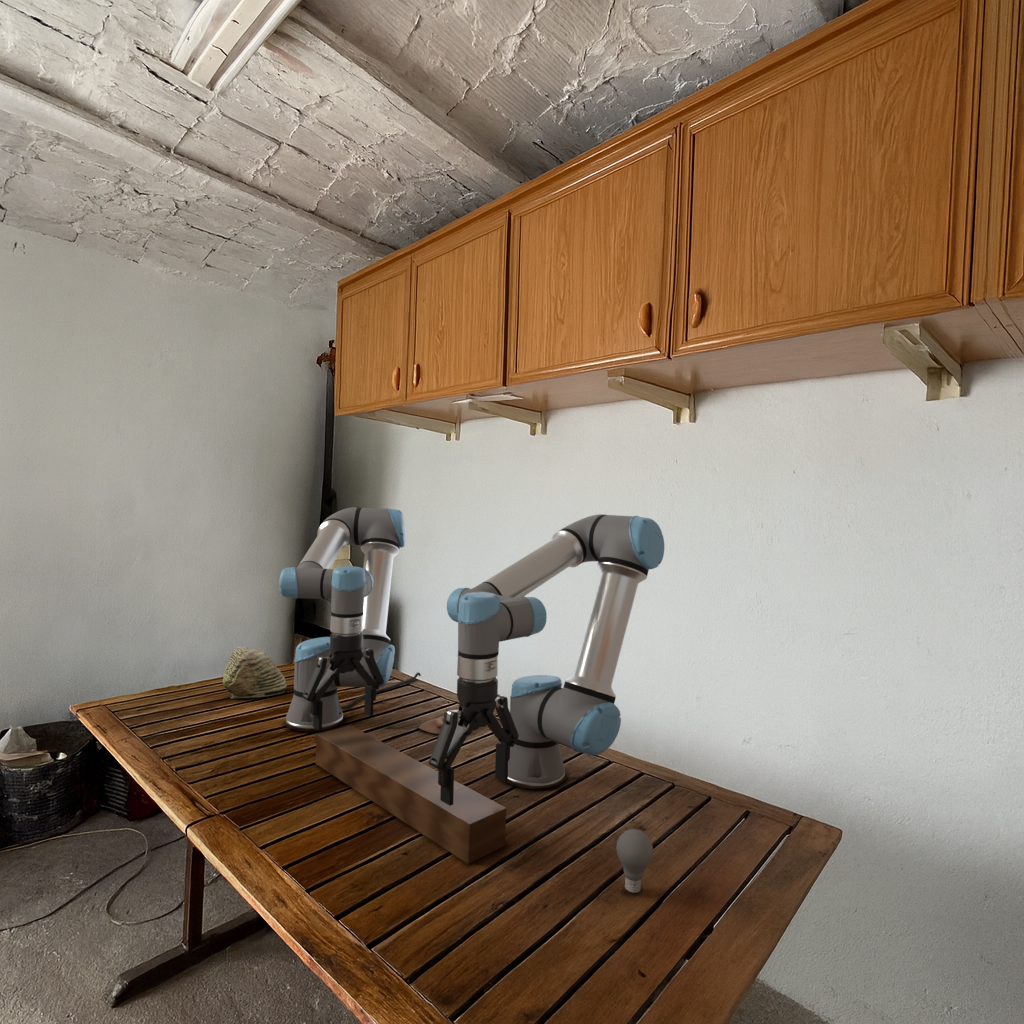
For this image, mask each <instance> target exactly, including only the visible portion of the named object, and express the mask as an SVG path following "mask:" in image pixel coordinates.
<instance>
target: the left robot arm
mask: <svg viewBox="0 0 1024 1024" xmlns="http://www.w3.org/2000/svg"><path fill="white" fill-rule="evenodd" d="M316 535H317V536H316V537H315V539H314V541H313V543H311V545H310V547H309V548H308V550H307V552H306V553H305V555H304V556H303V558H302V559H301V561H300V562H299V563H298V565H297V567H295V566H292V567H291V566H290V567H284V568H283V569H282V570H281V572H280V575H279V579H278V586H279V587H278V589H279V592H280V595H281V596H282V597H284V598H291V599H296V600H298V599H312V600H313V599H314V600H315V599H318V600H319V599H320V600H331V601H330V605H331V606H330V609H331V610H330V624H329V625H330V626H329V627H330V628H329V629H330V630H329V631H330V633H331V634H330V635H329V636H321V637H315V638H311V639H307V640H304V641H302V642H300V643H298V644H297V645H296V648H295V655H294V660H293V662H294V672H293V695H292V696H293V697H292V699H291V702H290V704H289V708H288V711H287V713H286V715H285V726H286V728H287V729H289V730H291V731H294V732H295V731H296V732H301V733H316V732H326V731H330V730H334V729H336V728H337V727H339V726H340V725H342V723H343V722H344V713H343V710H344V709H347V708H349V707H351V706H353V705H354V704H355V703H356V702H359V701H360V700H362V699H364V706H363V707H364V709H363V713H364V714H365V715H367V716H369V717H373V716H374V702H375V701H376V700H377V694H379V693H381V692H386V691H388V690H391V689H394V688H397V687H400V686H403V685H405V684H408V683H410V682H412V681H414V680H415V679H417V677H418V676H419V677H421V676H422V674H421V673H420V672H419V671H418V672H416V673H415V675H414V676H413V677H411V678H409V679H406V680H404V681H401V682H399V683H396V684H392V685H390V686H386V685H387V684H388V682H389V680H390V677H391V675H392V671H393V668H394V662H395V653H396V648H395V645H393V644H391V638H390V637H389V636H388V635H387V625H388V615H389V604H390V595H391V588H392V587H391V586H392V575H393V566H394V558H395V557H397V556H398V555H399V553H400V548H405V546H406V527H405V519H404V514H403V512H402V511H401V510H400V509H397V508H395V509H394V508H389V507H387V508H376V507H359V506H357V507H355V506H353V507H346V508H343V509H341V510H338V511H336V512H334V513H333V514H331V515H329V516H328V517H326V518H325V519H324V520H323V521H322V523H321V524H320V525H319V527H318V529H317V534H316ZM347 546H360V551H361V552H362V554H364V559H363V567H361V566H353V565H344V566H337V567H335V568H332V566H333V565H334V563H335V561H336V559H337V557H338V555H340V552H341V550H342V549H344V548H346V547H347ZM338 687H341V688H344V687H345V688H364V694H363V695H361V696H358V697H356V698H355V699H353V700H351V701H350V702H349V703H347V704H345V705H341V702H340V699H339V695H338Z"/></svg>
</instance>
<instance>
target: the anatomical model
mask: <svg viewBox="0 0 1024 1024" xmlns="http://www.w3.org/2000/svg"><path fill="white" fill-rule="evenodd" d="M443 720H444V715H442V716H439V717H437V718H436V717H435V718H432V719H429V720H427V721H424V722H422V723H421V724H420V725H419V726H418V728H419V730H421V731H423V732H427V733H430V734H434V735H439V733H440V730H441V727H442V724H443ZM462 727H464V728H466V727H465V726H464V724H463V725H462Z"/></svg>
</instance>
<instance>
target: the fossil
mask: <svg viewBox="0 0 1024 1024" xmlns="http://www.w3.org/2000/svg"><path fill="white" fill-rule="evenodd" d="M222 676H223V677H222V685H223V687H224V688H225V690H226V691H228V693H229V698H230V699H250V698H264V697H271V696H275V695H281V694H284V693H285V691H286V689H287V687H288V686H287V680H286V678H285V676H284V674H283V673H282V672H281V669H279V668H278V667H277V665H276V663H275V662H274V660H273V659H272V658H271V657H270V656H269V655H268V654H267V653H266V652H265V650H264V649H263V648H260V647H258V648H251V647H247V646H246V647H245V646H238V647H237V648H236V649H235V650H233V651H232V653H231V656H230V657H229V659H228V660H227V663H226V666H225V668H224V671H223V675H222Z"/></svg>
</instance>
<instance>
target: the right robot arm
mask: <svg viewBox="0 0 1024 1024" xmlns="http://www.w3.org/2000/svg"><path fill="white" fill-rule="evenodd" d="M664 555H665V539H664V535H663V532H662V529H661V527H660V526H659V524H658V523H657V522H656V521H655V520H654V519H652V518H650V517H646V516H645V517H643V516H639V515H617V514H602V513H601V514H600V513H599V514H593V515H588V516H586V517H583V518H580V519H579V520H576V521H574V522H571V523H569V524H568V525H566V526H564V527H562V528H561V529H560V530H558V531H556V532H554V534H553V535H552V537H551V540H549V541H548V542H546V543H545V544H543V545H542V546H539V547H538V548H537V549H535V550H533V551H532V552H530V553H529V554H526V555H525V556H523V557H522V558H519V560H517V561H515V562H514V563H512V564H510V565H509V566H507V567H505V568H504V569H503V570H500V571H499V572H497V573H496V574H494V575H492V576H491V577H489V578H488V579H486V580H485V581H482V582H481V583H479V584H478V585H476V586H474V587H472V588H470V587H457V588H456V589H453V591H452V592H451V593H450V594H449V595H448V598H447V601H446V611H447V615H448V617H449V618H450V619H451V620H452V621H453V622H455V623H457V667H456V668H457V669H456V670H457V671H456V676H458V678H457V679H456V697H457V700H458V707H457V709H454V710H451V709H449V708H445V710H444V713H443V716H444V720H443V724H442V727H441V730H440V733H439V734H437V738H436V741H435V744H434V745H433V749H432V751H431V754H430V758H429V760H428V765H429V766H431V767H433V768H435V769H437V771H438V784H439V785H440V786H441V796H440V800H441V801H443V802H444V803H446V804H448V805H449V806H451V805H453V796H454V780H455V768H454V767H452V765H453V763H454V761H455V759H456V758H457V756H458V754H459V752H460V750H461V749H462V746H463V745H464V744H465V743H464V742H465V741H466V740H467V737H469V736H470V735H471V734H472V733H473V732H474V731H477V730H479V729H480V728H485V727H488V729H489V730H490V732H491V733H492V734H493V735H494V736H495V738H496V739H497V740H498V741H499V742H498V743H495V764H494V765H495V767H494V768H495V769H494V774H495V775H494V778H496V779H498V780H500V781H502V782H505V783H507V784H509V785H511V786H513V787H516V788H520V789H525V790H526V789H527V790H547V789H551V788H555V787H558V786H560V785H561V784H562V783H564V781H565V780H566V768H565V767H566V766H565V763H564V760H563V756H562V752H561V749H560V745H561V746H564V747H566V748H568V749H571V750H573V751H574V752H576V753H579V754H580V753H582V754H585V755H588V756H599V755H602V754H603V753H604V752H606V751H607V749H609V748H610V747H611V746H612V745H613V743H614V742H615V741H616V738H617V737H618V734H619V732H620V729H621V723H622V717H621V710H620V708H619V707H618V706H617V705H616V704H615V702H616V698H617V695H616V693H615V691H614V690H613V688H612V685H613V682H614V678H615V674H616V670H617V666H618V663H619V659H620V654H621V651H622V648H623V644H624V639H625V636H626V632H627V628H628V624H629V621H630V616H631V613H632V610H633V606H634V605H633V604H634V601H635V597H636V593H637V590H638V587H639V584H640V583H642V582H644V581H645V580H647V578H648V575H649V571H650V570H653V569H656V568H658V567H660V564H662V562H663V559H664ZM588 562H596V563H597V568H598V569H599V571H600V573H601V576H600V579H599V583H598V586H597V589H596V590H597V591H596V594H595V596H594V601H593V604H592V608H591V611H590V615H589V619H588V623H587V626H586V630H585V633H584V637H583V641H582V645H581V648H580V651H579V656H578V659H577V662H576V666H575V669H574V673H573V675H572V676H570V677H568V678H567V679H565V680H564V684H563V682H562V679H561V677H559V676H556V675H547V674H535V675H527V676H526V675H525V676H522V677H518V678H516V679H515V680H514V681H513V682H512V685H511V694H510V697H509V700H510V702H509V700H508V697H507V696H505V695H501V694H498V692H499V691H498V689H499V679H498V675H499V652H500V651H499V649H500V642H505V641H509V640H510V641H511V640H515V639H520V638H528V637H531V636H533V635H536V634H539V633H541V632H542V631H543V630H544V628H545V627H546V624H547V619H548V617H547V614H548V613H547V608H546V606H545V605H544V603H543V602H542V601H541V600H540V599H539V598H538V597H536V596H535V597H534V596H527V595H529V594H530V593H532V592H533V591H535V590H537V589H538V588H539V587H541V586H542V585H544V584H545V583H546V582H548V581H550V580H552V578H555V577H556V576H557V575H559V574H560V573H561V572H563V571H565V570H566V569H568V568H576V567H579V566H580V565H581V564H584V563H588ZM495 711H496V714H497V716H498V718H497V717H496V716H495V714H494V712H495ZM498 719H499V720H498ZM499 721H500V722H499ZM463 724H464V726H465V727H466V728H464V727H462V725H463Z"/></svg>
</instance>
